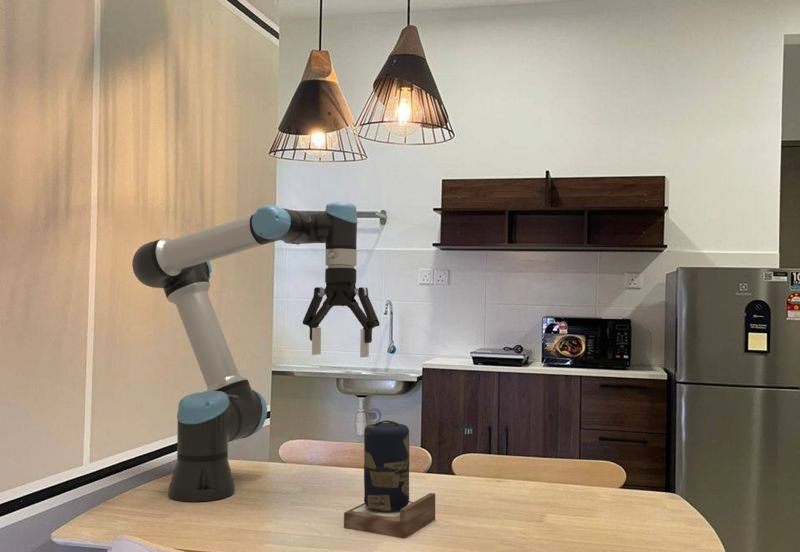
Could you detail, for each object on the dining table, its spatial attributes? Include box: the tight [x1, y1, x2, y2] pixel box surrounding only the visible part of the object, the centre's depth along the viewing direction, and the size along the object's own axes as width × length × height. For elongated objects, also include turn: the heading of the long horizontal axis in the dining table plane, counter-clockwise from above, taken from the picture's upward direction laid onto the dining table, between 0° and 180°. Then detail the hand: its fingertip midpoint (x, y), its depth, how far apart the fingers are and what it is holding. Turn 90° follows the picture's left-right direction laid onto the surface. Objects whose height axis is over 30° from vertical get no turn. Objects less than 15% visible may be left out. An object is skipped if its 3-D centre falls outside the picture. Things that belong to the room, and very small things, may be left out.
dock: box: [343, 492, 436, 539], centre depth 153 cm, size 14×14×5 cm
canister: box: [363, 419, 410, 511], centre depth 154 cm, size 10×10×18 cm
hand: (339, 355), depth 178 cm, fingers open, 13 cm apart
